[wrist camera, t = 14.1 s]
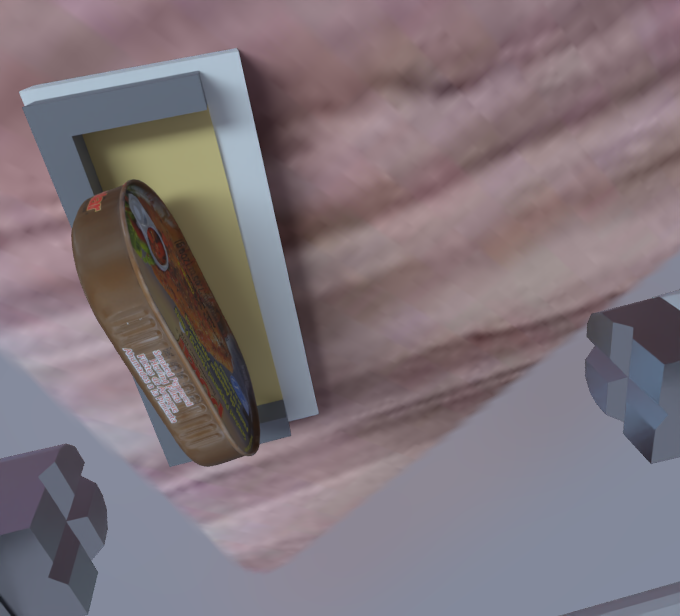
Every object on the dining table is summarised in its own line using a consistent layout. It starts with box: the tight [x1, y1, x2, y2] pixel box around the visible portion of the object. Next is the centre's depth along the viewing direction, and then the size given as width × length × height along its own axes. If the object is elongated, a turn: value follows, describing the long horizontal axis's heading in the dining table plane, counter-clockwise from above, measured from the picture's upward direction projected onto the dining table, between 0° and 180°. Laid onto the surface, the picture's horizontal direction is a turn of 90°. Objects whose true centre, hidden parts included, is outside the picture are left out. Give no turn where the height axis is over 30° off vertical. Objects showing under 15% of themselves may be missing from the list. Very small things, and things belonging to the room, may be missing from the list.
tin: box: [71, 179, 260, 467], centre depth 28 cm, size 15×3×8 cm, turn 18°
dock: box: [19, 48, 319, 467], centre depth 32 cm, size 10×22×4 cm, turn 9°
